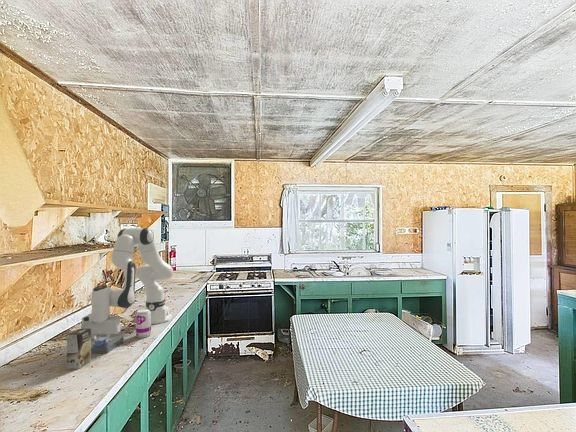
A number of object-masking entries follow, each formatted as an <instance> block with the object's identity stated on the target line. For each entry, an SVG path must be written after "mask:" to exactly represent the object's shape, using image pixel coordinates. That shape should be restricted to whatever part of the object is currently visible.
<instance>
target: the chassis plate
mask: <svg viewBox="0 0 576 432" xmlns="http://www.w3.org/2000/svg"><path fill="white" fill-rule="evenodd" d="M101 337H102V336H99V337H97V338H98V339H99V338H101ZM108 339H110V340H109V341H108V342H107V343H106V344H104V345H103V346H93V345H94V344H95V342H94V340H91V354H109V353H110V352H112V351H113V350H114V349H116V348H117V347H119V346H120V345H121V344H123V343H124V341H125V339H124V336H109V338H108Z"/></svg>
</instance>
